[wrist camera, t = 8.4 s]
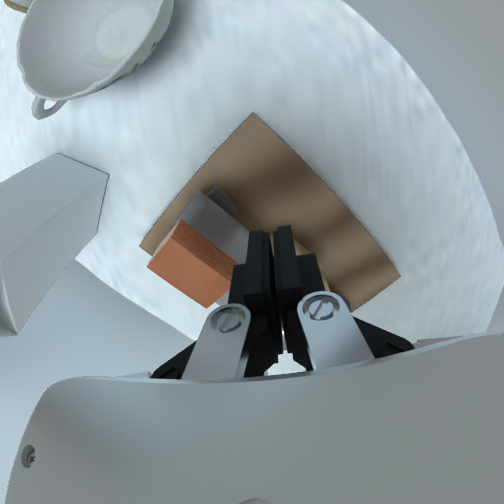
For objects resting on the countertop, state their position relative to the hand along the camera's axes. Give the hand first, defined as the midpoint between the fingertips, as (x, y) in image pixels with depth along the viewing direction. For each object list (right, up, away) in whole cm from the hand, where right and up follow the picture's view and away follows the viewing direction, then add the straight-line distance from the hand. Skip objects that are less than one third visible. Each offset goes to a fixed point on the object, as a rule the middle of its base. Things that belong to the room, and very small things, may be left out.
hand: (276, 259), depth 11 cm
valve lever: (-2, -2, +7) cm, 7 cm away
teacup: (-13, +19, +5) cm, 23 cm away
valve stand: (+2, 0, +16) cm, 16 cm away
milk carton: (-19, +7, +12) cm, 24 cm away
